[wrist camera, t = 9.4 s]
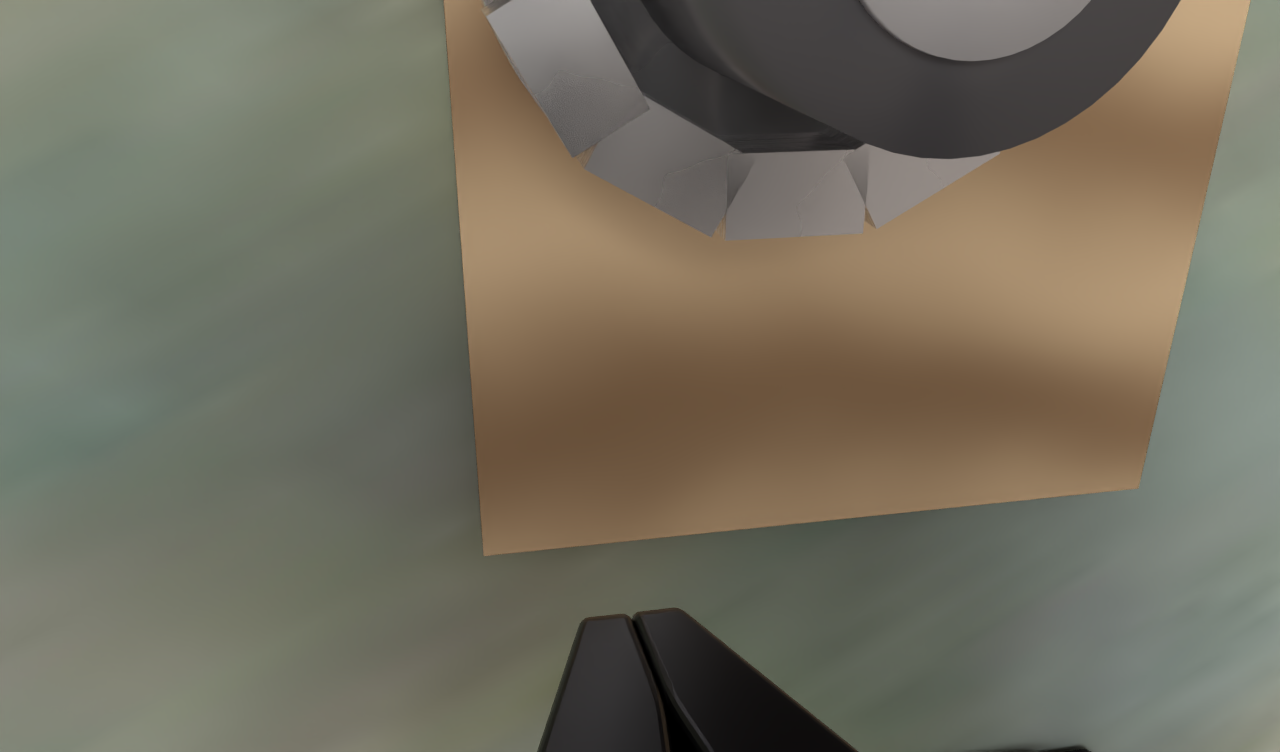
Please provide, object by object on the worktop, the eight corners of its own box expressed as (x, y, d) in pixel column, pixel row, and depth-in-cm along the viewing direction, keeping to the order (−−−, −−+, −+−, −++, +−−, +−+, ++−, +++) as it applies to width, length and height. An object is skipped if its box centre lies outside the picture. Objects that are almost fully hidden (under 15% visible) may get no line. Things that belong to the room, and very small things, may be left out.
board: (1112, 467, 24) (1138, 488, 23) (481, 530, 21) (483, 556, 21) (1314, -473, 17) (1364, -497, 16) (403, -549, 14) (402, -583, 13)
